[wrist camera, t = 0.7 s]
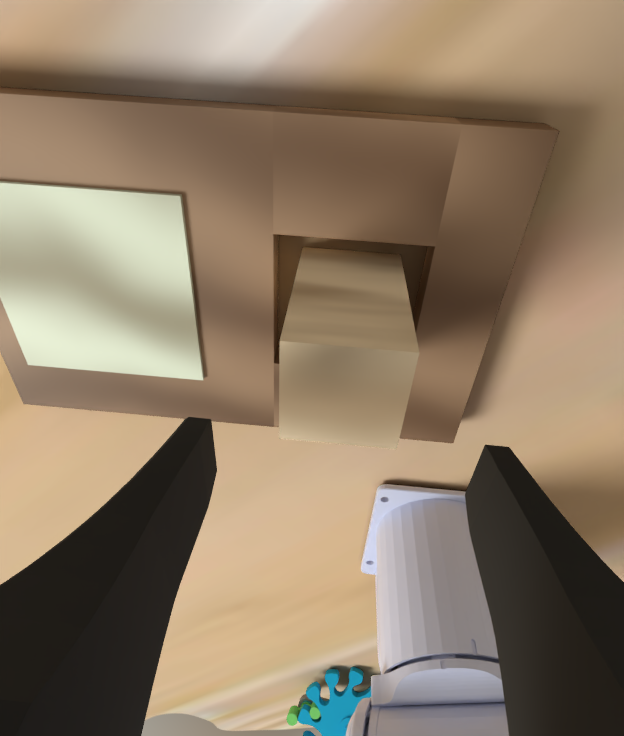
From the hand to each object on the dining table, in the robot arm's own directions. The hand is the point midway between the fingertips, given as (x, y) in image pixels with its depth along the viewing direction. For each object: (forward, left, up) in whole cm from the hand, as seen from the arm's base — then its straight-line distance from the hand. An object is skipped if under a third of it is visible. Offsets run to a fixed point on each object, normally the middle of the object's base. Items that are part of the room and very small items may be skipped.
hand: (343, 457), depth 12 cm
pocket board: (0, +5, -9) cm, 11 cm away
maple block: (0, 0, -9) cm, 9 cm away
